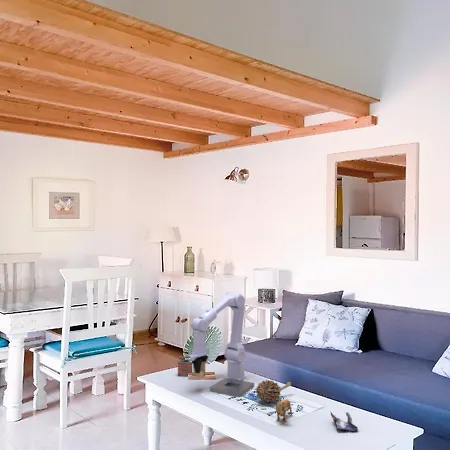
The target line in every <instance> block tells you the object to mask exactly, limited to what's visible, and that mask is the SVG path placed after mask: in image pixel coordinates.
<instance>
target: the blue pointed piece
mask: <svg viewBox="0 0 450 450" xmlns="http://www.w3.org/2000/svg"><path fill="white" fill-rule="evenodd" d="M343 413H345V412H343ZM345 414H346V416H345V417H347V421H343V420H342V419H341V418H339V417H337V414H336V415H335V414H333V412H331V410H330V417H331V418H332V420H333V422H334V425H335V427H336V430H337V431H341V430H343V431H344V430H345V431H346V432H347V433H355V432H358V431H359V429H358V426H356V425H355V424H353V419H352V417H351V416H352V415H351V414H350V413H349V412H348V411H347V412H346V413H345ZM341 422H342V423H343V426H342V425H341Z"/></svg>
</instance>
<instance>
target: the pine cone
mask: <svg viewBox="0 0 450 450" xmlns="http://www.w3.org/2000/svg"><path fill="white" fill-rule="evenodd" d="M291 383H292V382H291V381H288V382H287V383H286V384H284V385H283V386H279V385H278V382H275V381H273V380H270V379H265V381H264V380H262V382H258V383H257V385H258V386H256V387H255V389H256V390H255V391H254V392H255V393H256V397H257V399H259V400H260V401H261V402H265V403H267V402H268V403H270V402H271V403H273V401H274V402H276V400H278V398H279V399H280V398H281V397H280V396H281V395H282V394H281V391H283V390H285V389H287V388H288V387H291V386H292V384H291Z"/></svg>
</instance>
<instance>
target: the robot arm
mask: <svg viewBox="0 0 450 450" xmlns="http://www.w3.org/2000/svg"><path fill="white" fill-rule="evenodd" d="M245 303H246V298H245V297H244V295H243V294H240V293H233V292H225V293H224V294H223V295H222V297H221V299H220V300H219V301H218V302H217V303H216V305H215V306H213V307H212V308H207V309H206V310H205V311H204V312H203V314H200V316H198V317H195V318H194V319H193V320H192V321H191V324H190V327H191V330H192V333H193V350H192V352H191V355H189V357H190V361H192V367H193V366H194V369H195V373H200V368H201V363H202V361H205V364H206V363H207V361H208V359H209V353H210V349H207V348H206V344H207V343H206V342H207V341H206V331H207V330H208V328H209V326H210V324H211V323H212V322H213V321H215V320H216V319H217V316H218V314H219V313H221V312H222V311H223V310H225V309H226V308H227V307H229V308H230V309H231V310H232V311H233V315H232V323H231V324H232V325H231V334H230V342H228V343H227V344H226V346H225V347H226V348H225V350H224V353H223V354H224V358H225V359H226V361H227V376H226V377H225V378H230V379H236V380H241V381H243V379H245V378H246V377H247V376H246V375H245V362H244V360H245V358H246V353H245V352H246V351H245V346H244V345H243V344H242V336H243V335H242V334H243V327H244V319H245V318H244V317H245V310H246V309H245Z"/></svg>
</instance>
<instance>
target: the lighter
mask: <svg viewBox="0 0 450 450" xmlns="http://www.w3.org/2000/svg"><path fill="white" fill-rule="evenodd" d="M184 357H185V356H179V357H178V360H177V377H183V378H187V377H188V374H189V373H192V374H193V363H192V362H189V360H185V358H184ZM188 378H189V377H188Z"/></svg>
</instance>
